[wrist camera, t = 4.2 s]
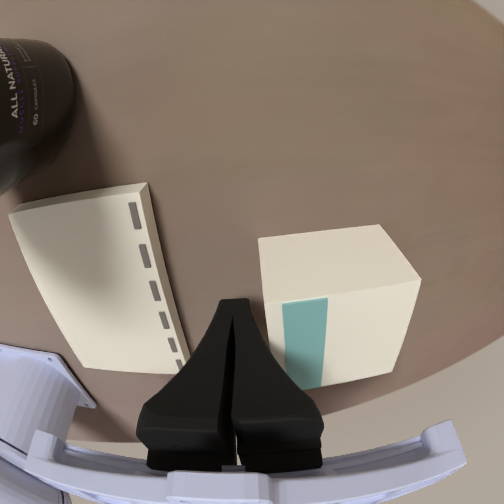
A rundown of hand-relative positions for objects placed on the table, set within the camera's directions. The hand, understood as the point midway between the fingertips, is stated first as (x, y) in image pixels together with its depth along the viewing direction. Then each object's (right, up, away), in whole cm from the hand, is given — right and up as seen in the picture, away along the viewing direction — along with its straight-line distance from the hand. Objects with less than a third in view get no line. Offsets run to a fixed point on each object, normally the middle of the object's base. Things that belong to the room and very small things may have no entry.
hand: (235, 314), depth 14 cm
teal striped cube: (+4, +1, +2) cm, 5 cm away
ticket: (-8, +1, +2) cm, 8 cm away
